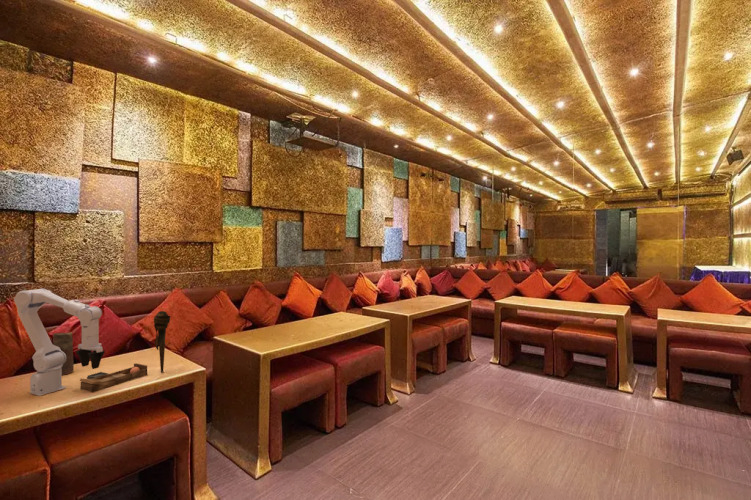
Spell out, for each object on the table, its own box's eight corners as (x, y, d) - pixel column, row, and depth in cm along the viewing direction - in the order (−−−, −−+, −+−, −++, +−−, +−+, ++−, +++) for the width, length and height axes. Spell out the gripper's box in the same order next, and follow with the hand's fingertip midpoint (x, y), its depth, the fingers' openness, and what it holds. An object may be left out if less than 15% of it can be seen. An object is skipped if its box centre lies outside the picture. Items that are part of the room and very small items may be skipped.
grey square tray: (94, 383, 160) (94, 377, 160) (86, 381, 162) (86, 375, 163) (109, 379, 165) (109, 373, 165) (101, 377, 168) (101, 371, 168)
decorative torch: (163, 369, 178) (162, 309, 179) (173, 371, 176) (173, 310, 176) (150, 374, 172) (150, 311, 172) (160, 375, 170) (160, 312, 170)
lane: (91, 392, 150) (91, 381, 150) (79, 389, 154) (79, 378, 154) (147, 374, 171) (147, 365, 171) (135, 372, 175) (135, 363, 175)
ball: (135, 366, 168) (132, 375, 166) (143, 368, 171) (139, 376, 170) (130, 365, 170) (126, 374, 168) (137, 367, 173) (134, 375, 171)
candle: (49, 375, 172) (49, 333, 172) (67, 370, 179) (66, 330, 179) (60, 376, 170) (59, 334, 170) (77, 371, 177) (77, 331, 177)
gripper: (110, 334, 154) (110, 366, 154) (91, 332, 160) (91, 362, 160) (91, 338, 148) (91, 371, 148) (72, 335, 154) (72, 366, 154)
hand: (90, 367), depth 153 cm, fingers open, 7 cm apart
